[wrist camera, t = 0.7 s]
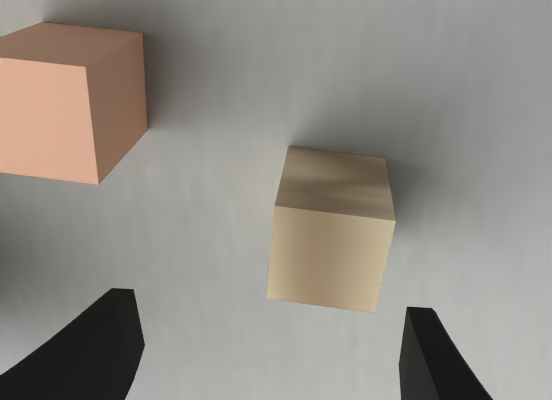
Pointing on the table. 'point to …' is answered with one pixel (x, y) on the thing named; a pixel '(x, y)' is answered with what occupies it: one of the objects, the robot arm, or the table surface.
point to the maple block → (331, 230)
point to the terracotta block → (70, 100)
